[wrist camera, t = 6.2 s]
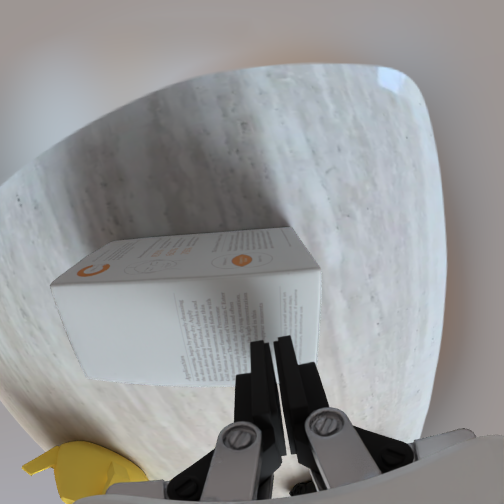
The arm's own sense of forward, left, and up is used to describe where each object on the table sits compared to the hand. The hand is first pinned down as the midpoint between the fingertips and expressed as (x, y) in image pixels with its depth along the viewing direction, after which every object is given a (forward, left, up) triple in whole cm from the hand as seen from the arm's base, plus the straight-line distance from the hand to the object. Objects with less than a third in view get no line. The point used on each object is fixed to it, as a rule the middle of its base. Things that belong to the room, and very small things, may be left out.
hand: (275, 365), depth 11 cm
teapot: (+27, -28, -9) cm, 40 cm away
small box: (0, +3, -5) cm, 6 cm away
